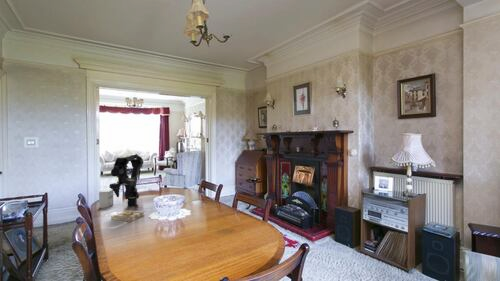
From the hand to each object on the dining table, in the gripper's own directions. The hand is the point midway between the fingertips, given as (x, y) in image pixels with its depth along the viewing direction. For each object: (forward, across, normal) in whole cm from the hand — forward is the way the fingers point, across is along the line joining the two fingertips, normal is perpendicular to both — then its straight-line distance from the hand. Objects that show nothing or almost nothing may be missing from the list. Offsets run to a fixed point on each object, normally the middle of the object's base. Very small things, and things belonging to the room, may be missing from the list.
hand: (122, 195), depth 179 cm
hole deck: (+12, -10, -13) cm, 20 cm away
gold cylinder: (+12, -10, -13) cm, 20 cm away
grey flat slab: (+12, -8, +1) cm, 14 cm away
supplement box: (+12, +9, +24) cm, 28 cm away
